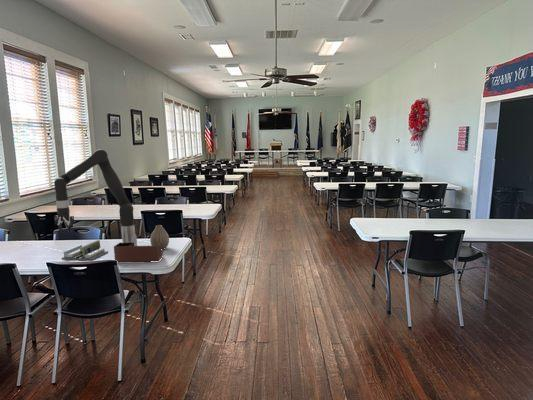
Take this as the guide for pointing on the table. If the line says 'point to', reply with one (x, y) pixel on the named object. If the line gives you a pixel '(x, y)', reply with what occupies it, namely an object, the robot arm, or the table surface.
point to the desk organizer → (136, 253)
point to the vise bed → (89, 255)
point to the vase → (159, 237)
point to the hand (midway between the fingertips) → (65, 230)
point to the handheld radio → (89, 248)
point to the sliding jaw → (72, 251)
